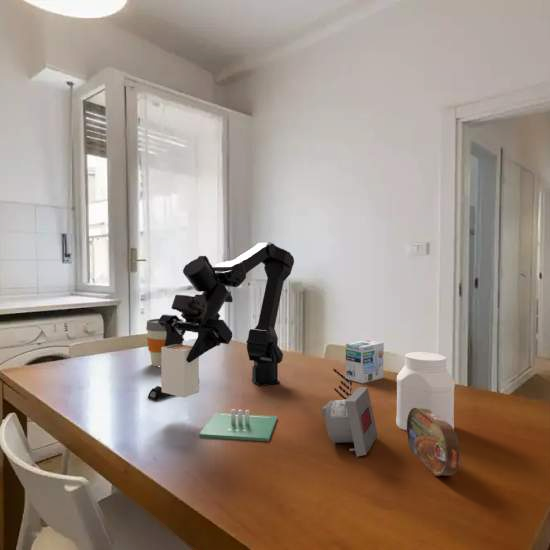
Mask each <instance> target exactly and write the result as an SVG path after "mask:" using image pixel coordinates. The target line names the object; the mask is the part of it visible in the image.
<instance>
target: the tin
mask: <svg viewBox="0 0 550 550" xmlns="http://www.w3.org/2000/svg"><path fill="white" fill-rule="evenodd" d="M406 436H407V440H408V442H407V443H408V445H409V448H410V450H411V452H412V454H413V455H414V457H416V458H417V459H418V460H419V461H420V462H421V463H422V464H423V466H425V467H426V468H427V470H429V472H430V471H431V472H430V473H433V474H432V475H434V476H435V477H438V476H439V477H440V476H453V475H455V474H456V473H457V472H458V470H459V464H460V450H461V448H460V441H459V437H458V435H457V433H456V431H455V428H454V429H453V428H452V426H451V425H450V424H448V423H447V422H446V421H444V420H443V419H441V418H440V417H439V416H437V415H436V414H434V413H433V412H432V411H430V410H429V409H421V408H413V409H411V410H410V412H409V415H408V419H407V430H406Z"/></svg>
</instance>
